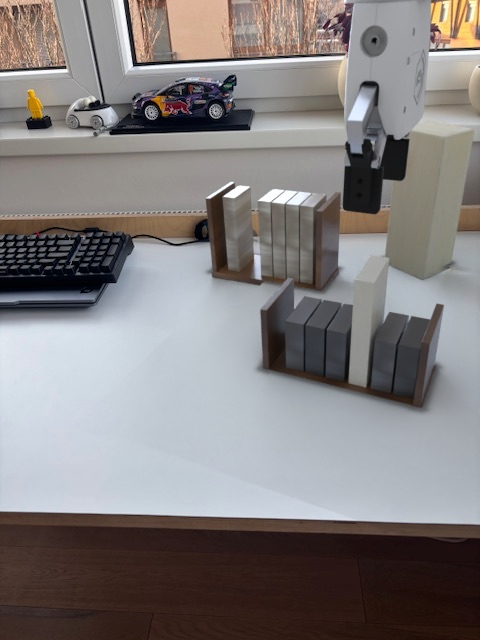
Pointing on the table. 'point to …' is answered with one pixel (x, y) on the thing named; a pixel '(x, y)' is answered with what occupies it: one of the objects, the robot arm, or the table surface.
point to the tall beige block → (428, 199)
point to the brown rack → (274, 236)
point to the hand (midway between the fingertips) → (375, 194)
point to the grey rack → (348, 346)
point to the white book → (367, 317)
